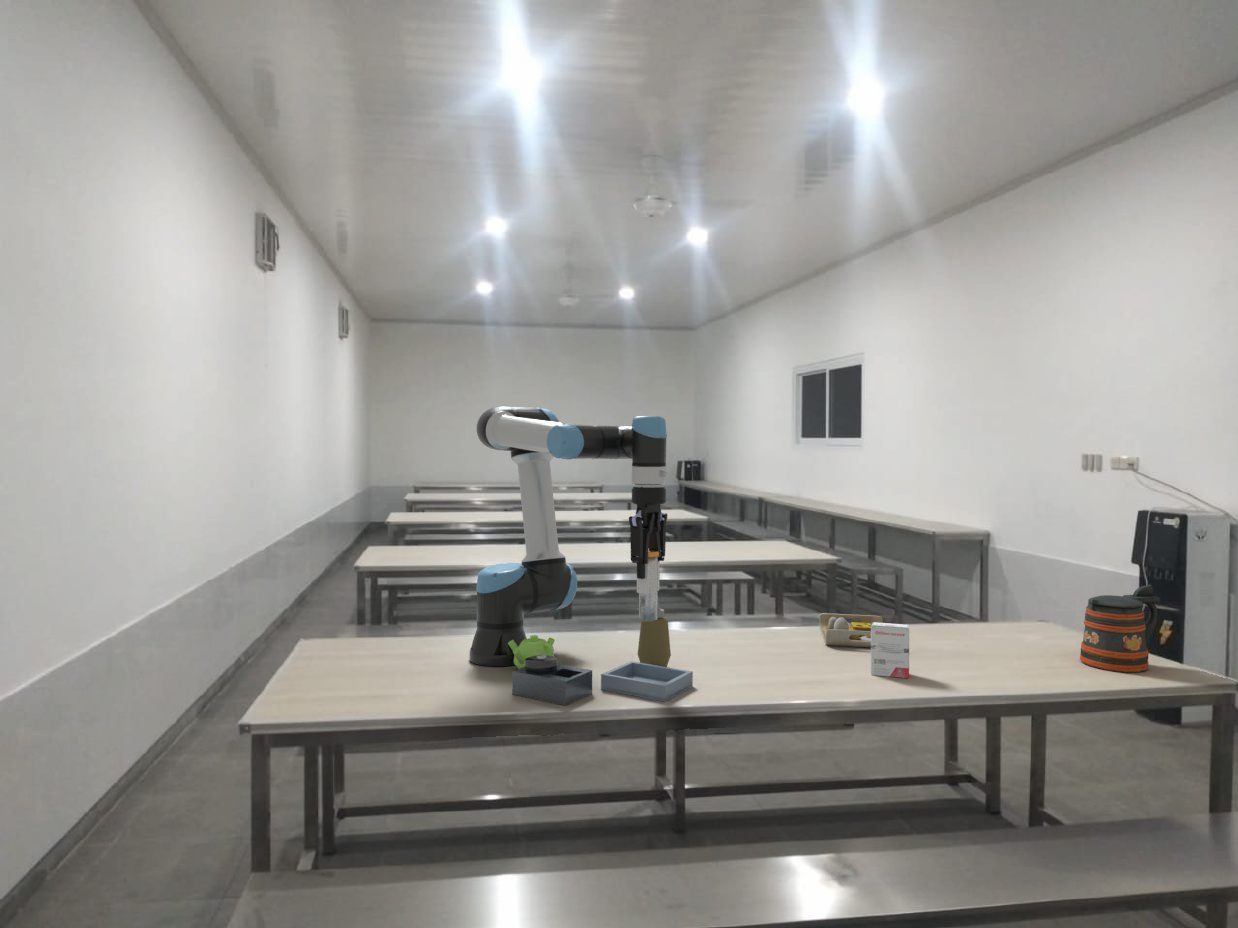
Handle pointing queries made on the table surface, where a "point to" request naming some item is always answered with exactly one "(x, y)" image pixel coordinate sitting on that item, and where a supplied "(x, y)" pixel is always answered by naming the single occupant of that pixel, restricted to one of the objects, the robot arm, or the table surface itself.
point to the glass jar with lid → (650, 590)
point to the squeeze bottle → (654, 641)
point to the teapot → (531, 649)
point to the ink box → (890, 650)
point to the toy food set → (847, 629)
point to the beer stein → (1119, 631)
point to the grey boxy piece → (551, 681)
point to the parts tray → (647, 680)
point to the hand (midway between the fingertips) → (648, 591)
